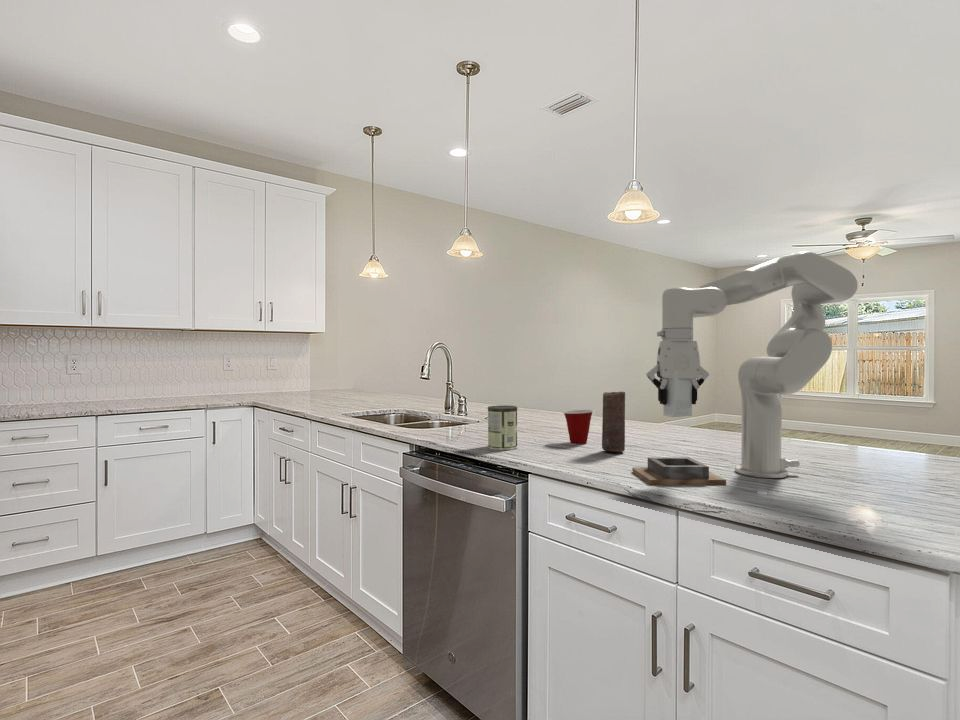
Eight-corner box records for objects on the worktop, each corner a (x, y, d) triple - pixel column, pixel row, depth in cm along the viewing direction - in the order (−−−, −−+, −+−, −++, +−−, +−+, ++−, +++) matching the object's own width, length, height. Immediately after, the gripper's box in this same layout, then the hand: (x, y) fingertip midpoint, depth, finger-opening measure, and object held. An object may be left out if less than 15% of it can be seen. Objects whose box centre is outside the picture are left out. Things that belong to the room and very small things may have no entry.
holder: (700, 471, 142) (701, 456, 142) (726, 484, 128) (726, 467, 128) (632, 471, 141) (632, 456, 141) (650, 484, 127) (650, 467, 127)
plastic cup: (570, 439, 195) (570, 407, 195) (597, 442, 189) (598, 409, 188) (557, 443, 186) (557, 410, 186) (585, 446, 180) (585, 412, 180)
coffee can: (497, 444, 185) (497, 404, 185) (522, 446, 179) (522, 406, 179) (481, 448, 176) (481, 407, 176) (508, 451, 171) (508, 409, 171)
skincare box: (680, 414, 138) (680, 369, 138) (693, 416, 134) (693, 369, 134) (662, 415, 135) (662, 369, 135) (674, 417, 131) (674, 370, 131)
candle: (625, 455, 165) (626, 392, 165) (602, 454, 166) (602, 392, 166) (624, 450, 173) (624, 391, 172) (601, 449, 174) (601, 390, 174)
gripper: (649, 335, 130) (649, 405, 131) (717, 335, 131) (717, 405, 131) (639, 336, 138) (639, 402, 138) (704, 336, 138) (704, 402, 138)
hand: (677, 403), depth 134 cm, fingers closed on skincare box, 7 cm apart
